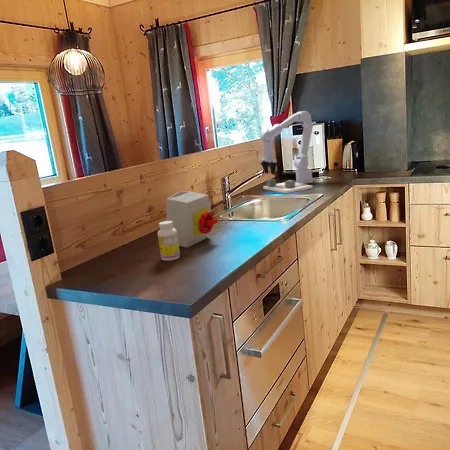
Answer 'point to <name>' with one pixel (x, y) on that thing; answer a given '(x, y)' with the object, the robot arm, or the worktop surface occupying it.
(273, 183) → the slider
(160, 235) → the supplement bottle
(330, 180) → the worktop surface
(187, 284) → the worktop surface
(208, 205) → the electrical switch box
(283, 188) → the panel
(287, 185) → the slider
